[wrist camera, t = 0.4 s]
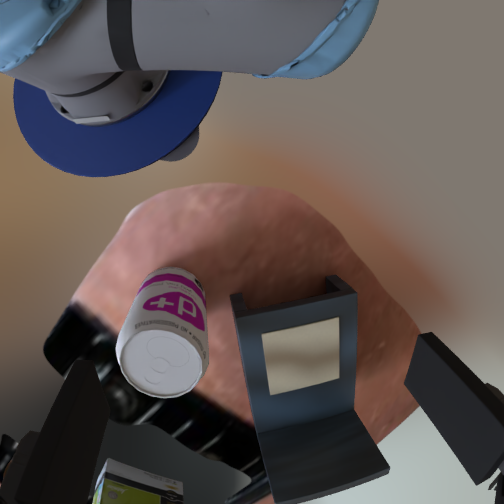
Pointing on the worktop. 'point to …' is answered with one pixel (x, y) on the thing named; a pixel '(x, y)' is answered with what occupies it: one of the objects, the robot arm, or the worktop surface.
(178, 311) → the supplement can
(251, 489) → the worktop surface
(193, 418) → the worktop surface
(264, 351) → the chair
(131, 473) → the tea box
